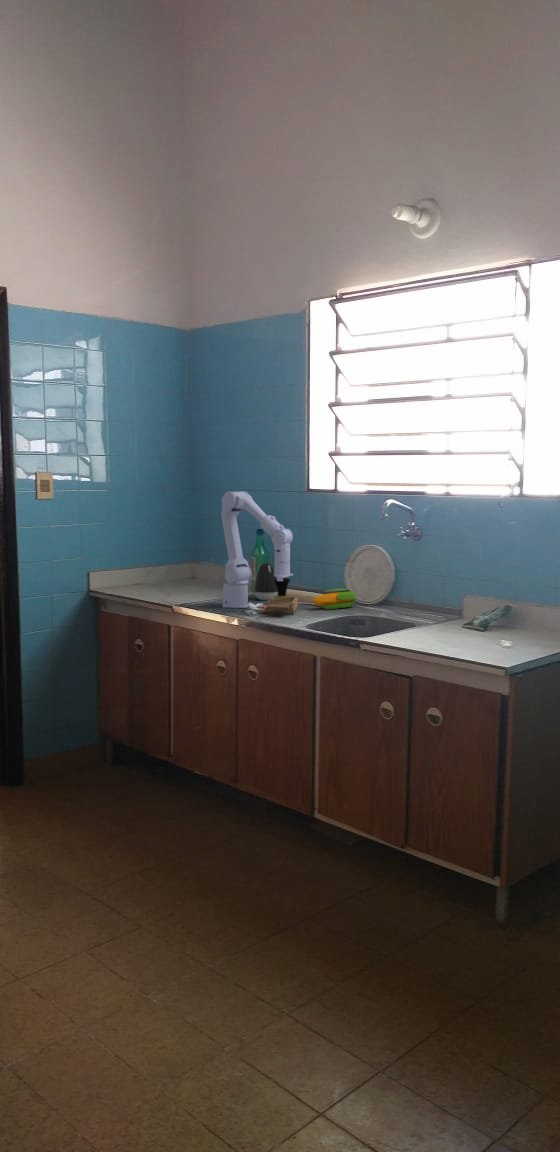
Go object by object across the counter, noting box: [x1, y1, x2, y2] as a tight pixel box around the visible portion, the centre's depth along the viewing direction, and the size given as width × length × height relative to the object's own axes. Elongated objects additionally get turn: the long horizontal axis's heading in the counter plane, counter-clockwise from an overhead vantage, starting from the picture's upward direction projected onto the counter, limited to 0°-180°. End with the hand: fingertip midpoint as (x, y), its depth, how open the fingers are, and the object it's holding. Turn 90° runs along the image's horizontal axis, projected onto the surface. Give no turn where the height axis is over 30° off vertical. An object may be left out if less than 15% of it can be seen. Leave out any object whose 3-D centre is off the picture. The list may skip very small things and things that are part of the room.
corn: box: [311, 587, 357, 610], centre depth 349 cm, size 7×8×20 cm
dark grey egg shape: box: [253, 561, 278, 601], centre depth 371 cm, size 10×10×15 cm
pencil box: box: [265, 596, 299, 616], centre depth 342 cm, size 16×10×4 cm, turn 173°
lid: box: [267, 595, 291, 609], centre depth 334 cm, size 14×7×3 cm, turn 173°
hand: (282, 598), depth 340 cm, fingers closed
